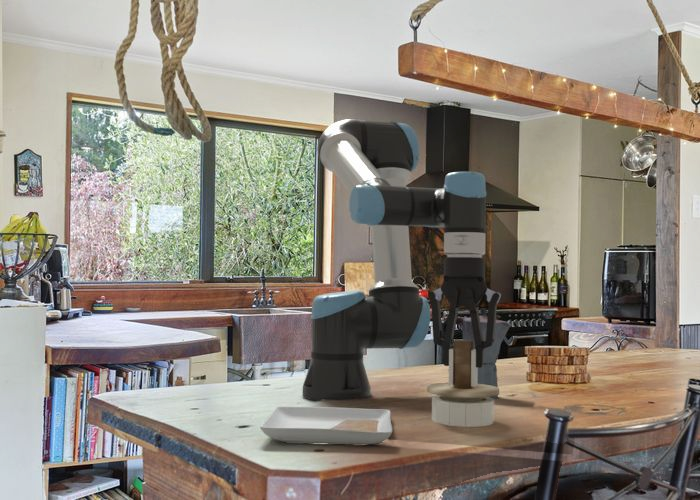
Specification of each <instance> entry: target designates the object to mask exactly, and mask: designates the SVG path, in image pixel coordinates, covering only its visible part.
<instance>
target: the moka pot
mask: <svg viewBox="0 0 700 500" xmlns="http://www.w3.org/2000/svg"><path fill="white" fill-rule="evenodd" d="M479 311H480V314H479V317H480V323H481V330H482V336H483V341H486V330H487V317H488V315H487V313H488V308H484V307H483V308H479ZM442 326H443V327H442V329H443V333H445V331H446V326H447V320H446V321H445V322H444V323H443V324H442ZM455 326H461V330H462V340H470V341H473V349H475V341H474V335H473V329H472V322H471V316H470V317H463V316H461V317H459V316H457V320H456V325H455ZM512 326H513V325H512V324H511V323H509V322H508V321H505V320H500V319H496V324H495V336H494V344H493V345H492V346H490V347H487V348H485V349H484V364H483V367H481V368H478V384H485V385H491V386H495V387H498V388H499V386H498V372H497V371H498V369H497V365H496V363H497V359H498V356H499V354H500V350H501V344H502V343H503V341H504V340H505V339H504V338H505V337H506V335H507V332H508V331H509V329H510V328H511V327H512ZM451 348H454V342H452V346H451ZM490 398H493V399H494V400H495V399H497V398H499V395H496V396H492V397H490Z"/></svg>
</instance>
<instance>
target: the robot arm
mask: <svg viewBox="0 0 700 500" xmlns="http://www.w3.org/2000/svg"><path fill="white" fill-rule="evenodd" d="M316 149H317V155H318V158H319V160H320V163H322V165H323V167H324V168H325V169H326V170H327V171H330V172H332V173H334V174H335V175H336V177H337V178H338V180H339V181H340V182H341V184H342V185H343V187H344V189H346V191H347V193H349V194H350V196H349V203H348V207H349V208H348V210H349V214H350V218H351V220H352V221H353V222H354V223H355V224H359V225H368V226H371V234H372V235H371V237H372V255H373V258H372V259H373V274H374V276H373V277H374V284H373V285H371V287H370V288H369V289H368V296H366V295H365V292H364V291H363V290H348V291H337V292H336V291H335V292H329V293H324V294H319V295H316V296H315V298H314V299H313V301H312V303H311V312H310V313H311V315H310V320H311V329H310V331H311V333H310V334H311V335H310V336H311V337H310V338H311V339H310V341H311V342H310V345H311V346H310V363H309V367H308V370H307V372H306V376H305V378H304V382H303V384H302V397H303V398H304V399H308V400H312V401H317V402H318V401H319V402H321V401H322V400H323V401H324V400H327V401H351V400H361V399H366V398H370V397H371V396H372V395H371V391H372V389H371V385H370V381H369V377H368V374H367V370H366V367H365V364H364V350H365V349H368V350H369V349H399V350H403V349H408V348H409V349H410V348H417V347H418V346H420V345H421V344H423V342H424V341H425V339H426V337H427V334H428V332H429V329H430V324H431V323H432V324H431V325H432V340H433V343H434V345H436V346H437V345H438V346H440V347H441V348H442V350H443V352H442V353H443V355H442V359H443V361H442V362H443V363H442V364H443V365H444V367H448V383H449V385H454V348H451V346H452V343H454V341H453V340H454V335H455V330H456V326H457V325H456V320H457V317H458V314H459V310H460V308H461V307H465V308H468V312H469V316H470V317H471V322H472V329H473V335H474V341H475V349H473V350H471V386H473V387H475V386H477V385H478V368H481V367H483V364H484V349H485V348H487V347H490V346H492V345H493V344H494V336H495V324H496V320H497V307H498V304H499V302H500V300H501V297H502V294H501V293H500V292H498V291H497V292H496V291H494V290H491V289H490V288H488V285H487V282H486V260H485V258H484V257H483V256H484V255H486V218H487V217H486V216H487V215H486V212H487V211H486V210H487V209H486V208H487V193H488V192H487V191H486V177H485V176H484V174H483V173H480V172H477V171H454V172H449V173H447V174H446V175H445V178H444V184H443V187H442V188H434V187H433V188H432V187H413V186H411V187H410V186H409V187H408V186H407V185H406V183H407V182H408V180H410V178H411V177H412V172H414V171H415V170H416V169H417V166H418V163H419V156H420V145H419V140H418V137H417V134H416V131H415V130H414V129H413V128H412V127H411V125H409V124H407V123H403V122H402V123H401V122H397V121H393V120H392V121H391V120H390V121H383V120H382V121H381V120H368V119H357V118H356V119H355V118H347V119H341V120H339V121H336V122H334V123H332V124H331V125H329V126H328V127H327V128H326V129H325V130H324V131H323V132H322V134H321V135H320V137H319V139H318V143H317V148H316ZM409 227H425V228H426V227H428V228H431V229H439V230H440V229H444V230H443V232H444V233H443V254H445V255H446V257H445V258H444V259H443V281H442V283H441V285H440V287H439V288H437V289H435V290H431V291H428V292H427V297H428V299H429V301H428V299H427V298H426V297H424V296H421V295H420V288H419V286H418V285H417V284H415V283H414V282H413V278H412V277H413V276H412V265H411V264H412V261H411V247H410V246H411V245H410V233H409V232H410V231H409V229H410V228H409ZM442 295H444V297H445V298H446V301H448V303H449V307H448V315H447V316H448V317H447V319H446V321H447V326H446V331H445V332H444V337H443V327H442V326H443V324H442V311H441V310H442V309H441V306H442V305H441V300H442V298H443V297H442ZM485 295H486V301H487V302H488V307H487V316H488V317H487V330H486V341H483V336H482V330H481V323H480V317H479V316H480V312H479V311H480V308H479V303H480V302H481V300H482V299H483V298H484V296H485ZM429 302H430V304H429ZM430 305H431V306H430ZM431 321H432V322H431Z"/></svg>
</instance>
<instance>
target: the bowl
mask: <svg viewBox="0 0 700 500" xmlns="http://www.w3.org/2000/svg"><path fill="white" fill-rule="evenodd" d="M458 401H467V402H458ZM431 421H432V422H434V423H436V424H440V425H443V426H444V425H445V426H450V427H452V426H453V427H462V428H463V427H464V428H467V427H468V428H472V427H473V428H475V427H486V426H490V425H491V426H492V424H494V422H495V399H494V398H490V397H480V398H463V397H448V396H441V395H435V394H434V396H433V397H431Z"/></svg>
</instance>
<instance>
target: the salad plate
mask: <svg viewBox="0 0 700 500" xmlns="http://www.w3.org/2000/svg"><path fill="white" fill-rule="evenodd" d="M348 420H349V421H350V420H351V421H377V422H378V423H377V429H376V430H377V431H368V430H367V431H366V430H352V429H350V430H349V429H339V428H338V429H337V428H334V427H335V426H337V425H340V424H341V423H343V422H345V421H348ZM259 428H260V430H261V432H263V434H265V436H267V437H269V438H270V439H273V440H275V441H280V442H282V443H284V442H288V443H287V444H292V443H328V444H371V445H375V444H376V445H377V444H381V443H383V442H384V441H387V440H388V439H389V438H390V436H392V433H393V424H392V422H391V410H390V409H381V408H378V409H377V408H357V407H332V406H331V407H329V406H328V407H327V406H322V407H321V406H276V407H275V408H274V409H273V410H272V412H271V413H270V414H269V416H267V418H266V419H265V421H263V423H261V425H260V427H259Z"/></svg>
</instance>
